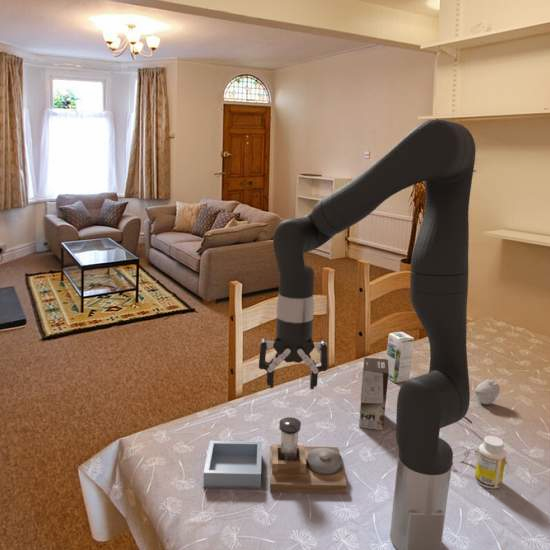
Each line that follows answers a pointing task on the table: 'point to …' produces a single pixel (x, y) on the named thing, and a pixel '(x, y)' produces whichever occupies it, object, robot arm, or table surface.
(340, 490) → the block
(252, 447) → the tray
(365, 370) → the coffee box
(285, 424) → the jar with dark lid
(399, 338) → the syrup box
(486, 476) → the supplement bottle
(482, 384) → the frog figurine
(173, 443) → the table surface
